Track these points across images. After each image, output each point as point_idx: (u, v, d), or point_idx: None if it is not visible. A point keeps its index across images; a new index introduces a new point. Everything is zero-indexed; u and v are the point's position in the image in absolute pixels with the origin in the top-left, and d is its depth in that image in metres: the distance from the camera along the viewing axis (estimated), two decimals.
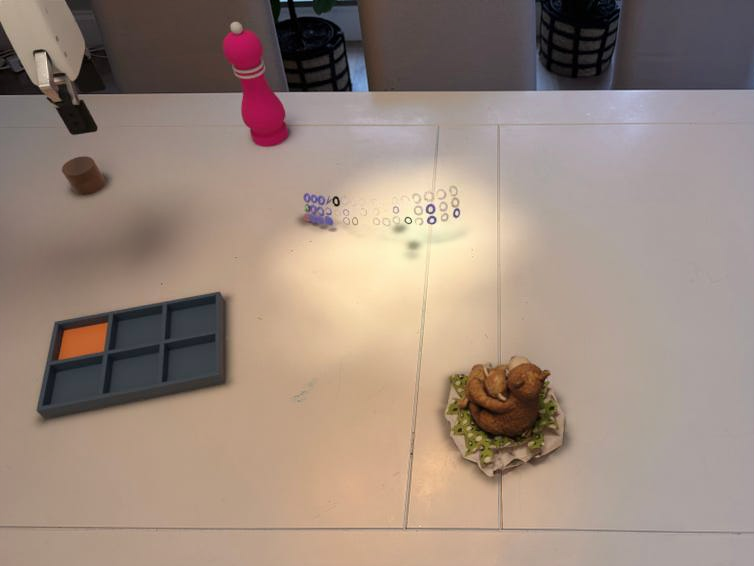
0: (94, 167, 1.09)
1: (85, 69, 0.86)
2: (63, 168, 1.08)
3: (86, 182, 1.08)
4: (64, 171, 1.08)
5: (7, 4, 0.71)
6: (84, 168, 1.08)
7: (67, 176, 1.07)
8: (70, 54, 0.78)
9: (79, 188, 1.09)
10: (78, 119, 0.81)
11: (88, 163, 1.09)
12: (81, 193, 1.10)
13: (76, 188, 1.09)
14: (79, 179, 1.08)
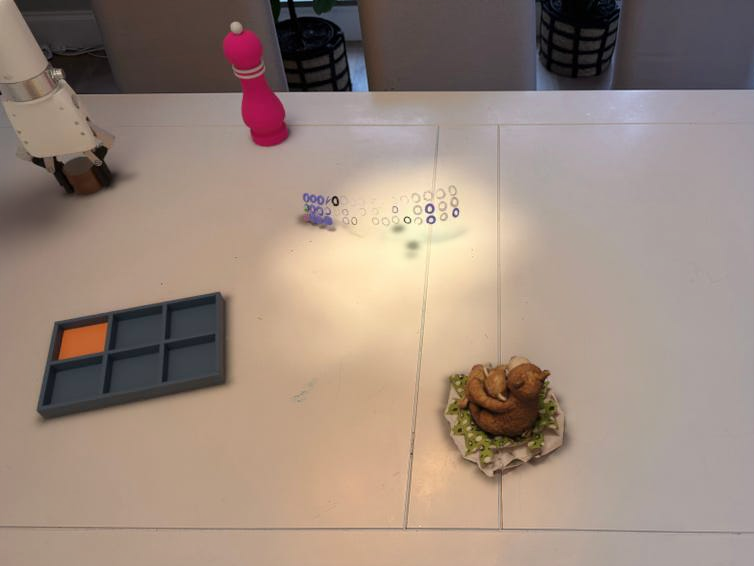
0: None
1: None
2: (63, 168, 1.08)
3: (86, 182, 1.08)
4: (64, 171, 1.08)
5: None
6: (84, 168, 1.08)
7: (67, 176, 1.07)
8: (35, 144, 1.02)
9: (79, 188, 1.09)
10: None
11: (88, 163, 1.09)
12: (81, 193, 1.10)
13: (76, 188, 1.09)
14: (79, 179, 1.08)
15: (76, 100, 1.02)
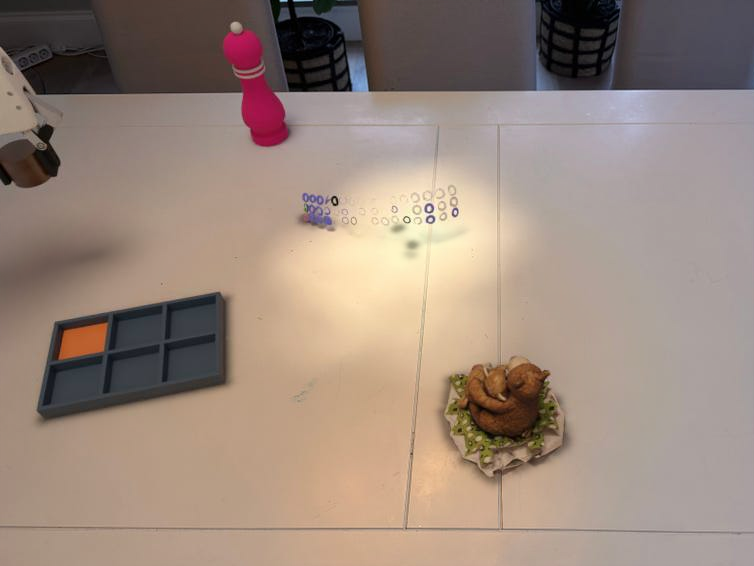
0: None
1: None
2: None
3: (27, 171, 0.86)
4: None
5: None
6: (24, 154, 0.85)
7: (3, 164, 0.85)
8: None
9: (19, 179, 0.86)
10: None
11: (30, 147, 0.86)
12: (22, 186, 0.87)
13: (15, 179, 0.86)
14: (19, 167, 0.85)
15: (9, 64, 0.79)
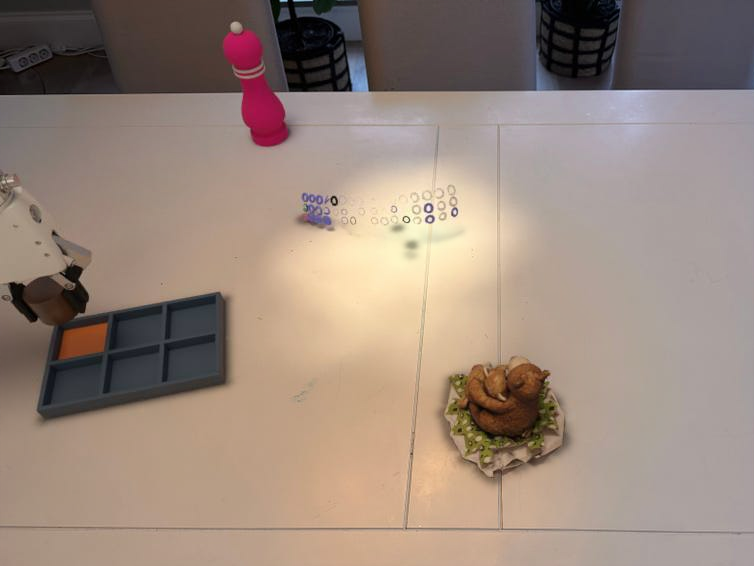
0: None
1: None
2: (24, 293, 0.81)
3: (54, 311, 0.81)
4: (25, 297, 0.81)
5: None
6: (51, 294, 0.81)
7: (29, 304, 0.80)
8: None
9: (45, 318, 0.82)
10: None
11: (57, 284, 0.82)
12: (48, 324, 0.83)
13: (42, 318, 0.82)
14: (46, 308, 0.81)
15: (37, 211, 0.74)
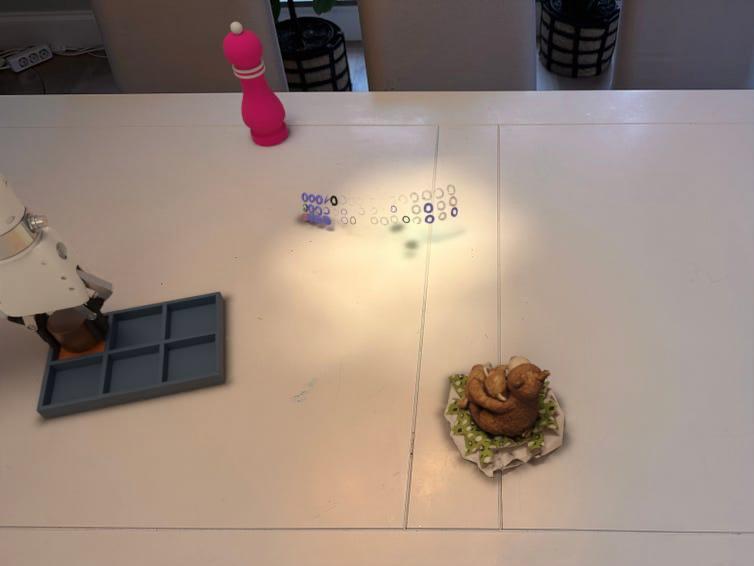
0: None
1: None
2: (48, 322, 0.85)
3: (76, 339, 0.86)
4: (49, 327, 0.85)
5: None
6: (74, 323, 0.85)
7: (53, 334, 0.85)
8: (10, 304, 0.79)
9: (68, 346, 0.86)
10: None
11: (80, 314, 0.86)
12: (70, 351, 0.87)
13: (64, 346, 0.86)
14: (69, 337, 0.85)
15: (63, 248, 0.79)
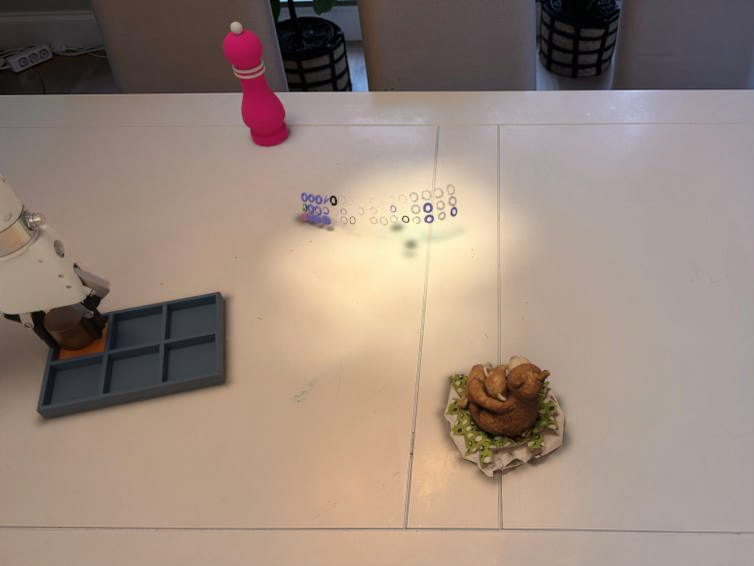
0: None
1: None
2: (44, 320, 0.85)
3: (73, 337, 0.85)
4: (46, 325, 0.85)
5: None
6: (71, 321, 0.85)
7: (49, 332, 0.84)
8: (6, 301, 0.79)
9: (64, 344, 0.86)
10: None
11: (76, 312, 0.86)
12: (67, 349, 0.87)
13: (61, 344, 0.86)
14: (65, 335, 0.85)
15: (60, 245, 0.79)
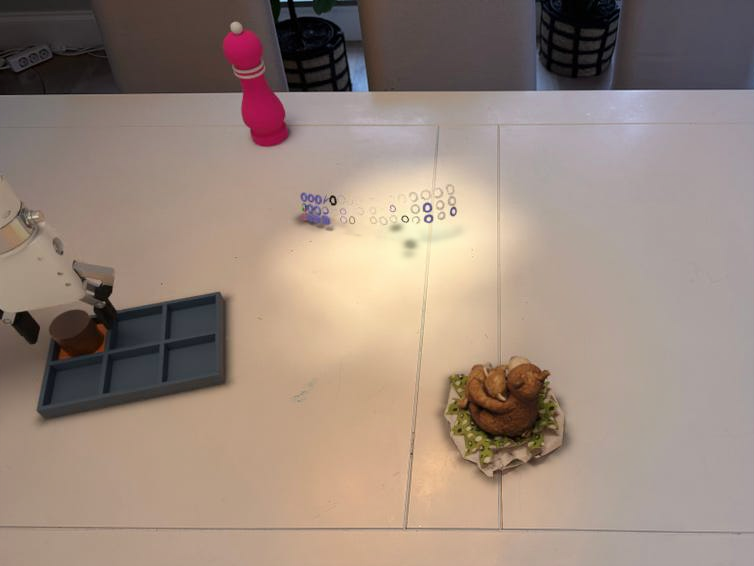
0: (89, 326, 0.87)
1: None
2: (51, 327, 0.86)
3: (79, 344, 0.87)
4: (52, 332, 0.86)
5: None
6: (76, 328, 0.86)
7: (56, 339, 0.86)
8: (6, 299, 0.79)
9: (70, 351, 0.87)
10: None
11: (82, 319, 0.87)
12: (73, 356, 0.88)
13: (67, 351, 0.87)
14: (71, 342, 0.86)
15: (59, 243, 0.78)
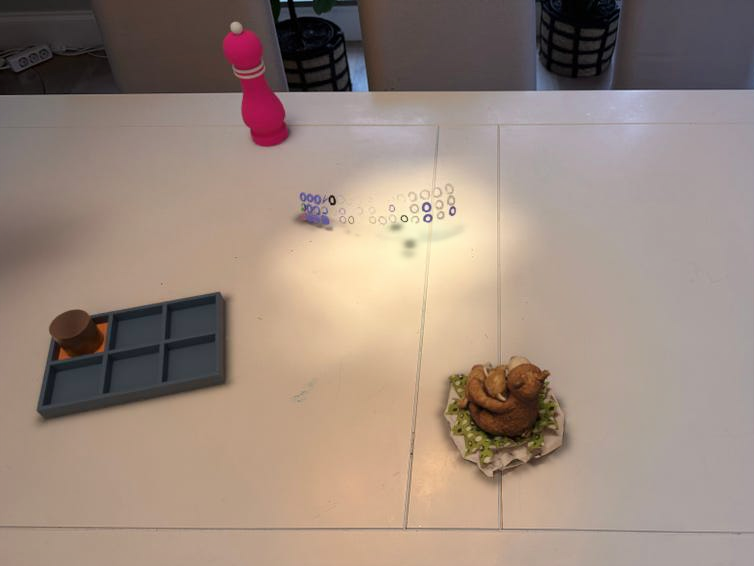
0: (89, 326, 0.87)
1: None
2: (51, 327, 0.86)
3: (79, 344, 0.87)
4: (52, 332, 0.86)
5: None
6: (76, 328, 0.86)
7: (56, 339, 0.86)
8: None
9: (70, 351, 0.87)
10: None
11: (82, 319, 0.87)
12: (73, 356, 0.88)
13: (67, 351, 0.87)
14: (71, 342, 0.86)
15: None
